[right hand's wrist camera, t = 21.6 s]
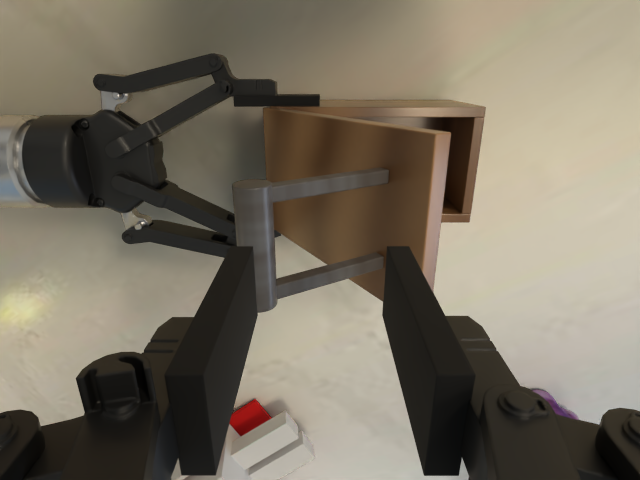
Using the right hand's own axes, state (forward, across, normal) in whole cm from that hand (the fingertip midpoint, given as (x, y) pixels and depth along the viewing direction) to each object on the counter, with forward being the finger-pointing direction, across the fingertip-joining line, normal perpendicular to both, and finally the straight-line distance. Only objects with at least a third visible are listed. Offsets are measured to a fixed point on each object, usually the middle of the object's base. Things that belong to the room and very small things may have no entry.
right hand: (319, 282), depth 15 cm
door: (+12, +1, 0) cm, 12 cm away
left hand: (+22, 0, 0) cm, 22 cm away
